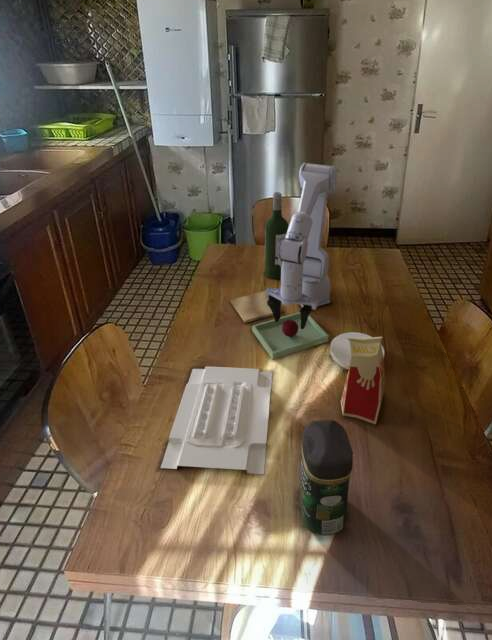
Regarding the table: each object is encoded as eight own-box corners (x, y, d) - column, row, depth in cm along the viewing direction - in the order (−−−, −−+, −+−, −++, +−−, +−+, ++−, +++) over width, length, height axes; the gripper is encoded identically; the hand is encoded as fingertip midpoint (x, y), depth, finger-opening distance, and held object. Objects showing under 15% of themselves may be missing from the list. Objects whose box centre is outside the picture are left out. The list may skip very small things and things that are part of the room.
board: (264, 293, 142) (264, 290, 142) (281, 312, 132) (281, 310, 132) (230, 302, 137) (230, 299, 137) (245, 323, 128) (245, 320, 127)
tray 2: (304, 316, 131) (305, 310, 130) (328, 341, 121) (328, 335, 120) (252, 331, 124) (252, 325, 123) (272, 359, 114) (272, 353, 113)
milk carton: (382, 395, 103) (393, 326, 94) (377, 425, 95) (389, 353, 86) (344, 385, 106) (351, 318, 97) (336, 414, 98) (343, 343, 89)
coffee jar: (295, 486, 82) (298, 415, 74) (336, 482, 83) (344, 411, 75) (304, 540, 73) (309, 466, 65) (349, 535, 74) (360, 461, 66)
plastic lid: (384, 344, 120) (385, 337, 119) (381, 379, 108) (383, 372, 106) (333, 335, 123) (334, 328, 122) (325, 369, 111) (326, 361, 110)
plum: (293, 328, 125) (293, 314, 123) (301, 337, 121) (301, 323, 119) (278, 332, 123) (279, 319, 121) (286, 341, 119) (286, 328, 117)
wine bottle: (282, 281, 149) (284, 199, 136) (261, 276, 152) (261, 195, 139) (290, 270, 156) (292, 191, 143) (269, 266, 158) (270, 188, 145)
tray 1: (160, 468, 85) (158, 455, 83) (192, 371, 111) (191, 360, 109) (264, 474, 84) (264, 460, 83) (272, 375, 110) (272, 363, 108)
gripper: (260, 282, 114) (260, 324, 120) (312, 295, 109) (310, 338, 115) (271, 270, 120) (270, 311, 126) (321, 282, 115) (318, 324, 120)
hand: (290, 323), depth 121 cm, fingers open, 7 cm apart
